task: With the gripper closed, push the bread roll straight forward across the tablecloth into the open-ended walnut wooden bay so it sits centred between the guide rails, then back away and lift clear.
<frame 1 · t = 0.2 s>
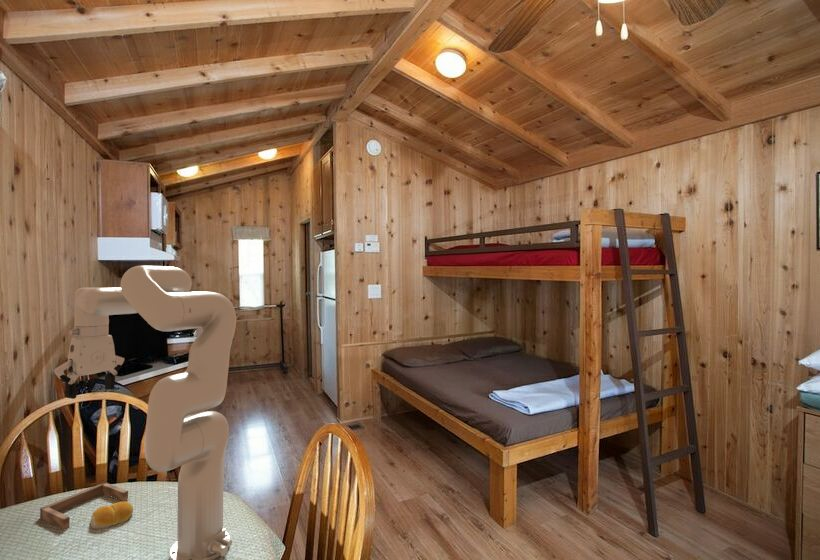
hand: (91, 393, 115), 31 cm above the table, tool pointing down, fingers open, 9 cm apart
bay: (87, 508, 112), on the table
bread roll: (111, 521, 108), on the table
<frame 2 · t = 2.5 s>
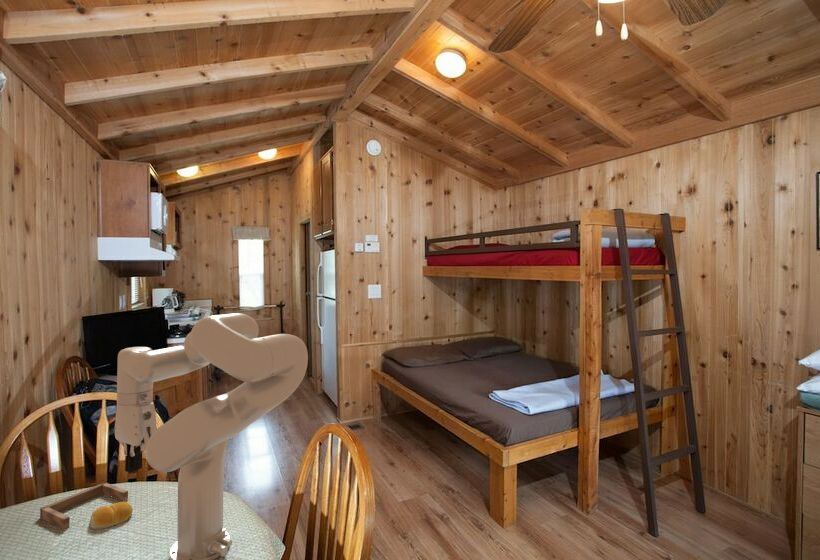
hand: (133, 469, 104), 15 cm above the table, tool pointing down, fingers closed
nothing on the table moved.
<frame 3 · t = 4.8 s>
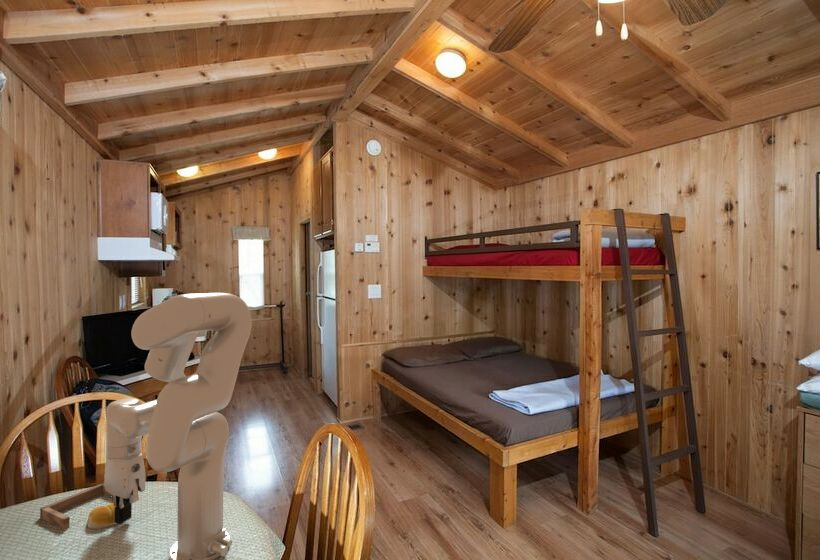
hand: (123, 520, 105), 1 cm above the table, tool pointing down, fingers closed
bread roll: (108, 521, 108), on the table, touching gripper
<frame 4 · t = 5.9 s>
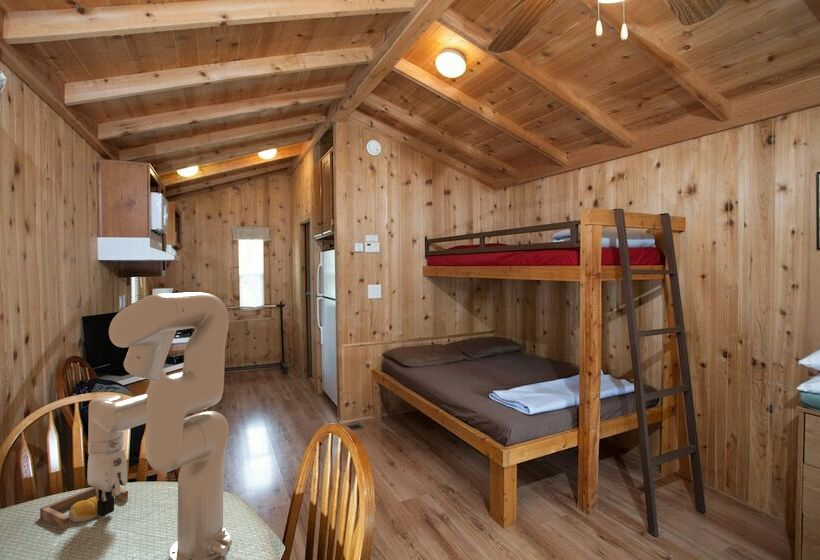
hand: (105, 513, 109), 1 cm above the table, tool pointing down, fingers closed
bread roll: (89, 514, 110), on the table
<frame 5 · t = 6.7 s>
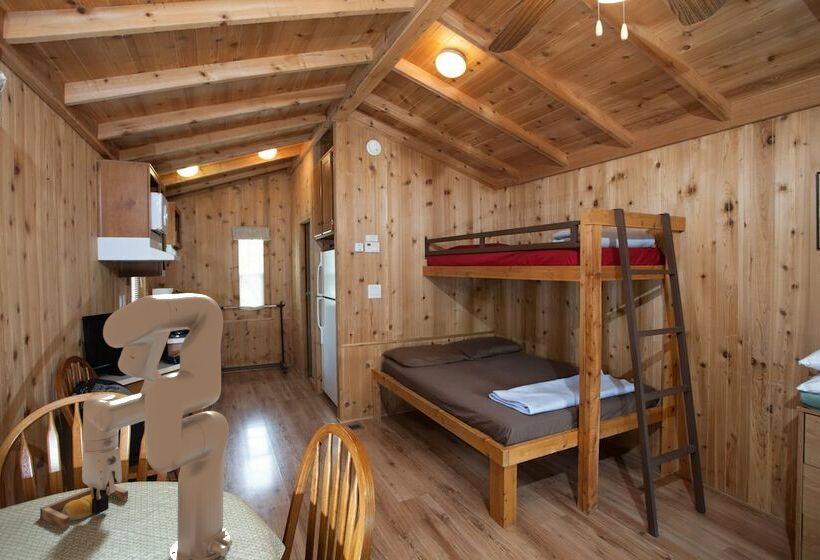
hand: (100, 511, 110), 1 cm above the table, tool pointing down, fingers closed
bread roll: (83, 513, 111), on the table
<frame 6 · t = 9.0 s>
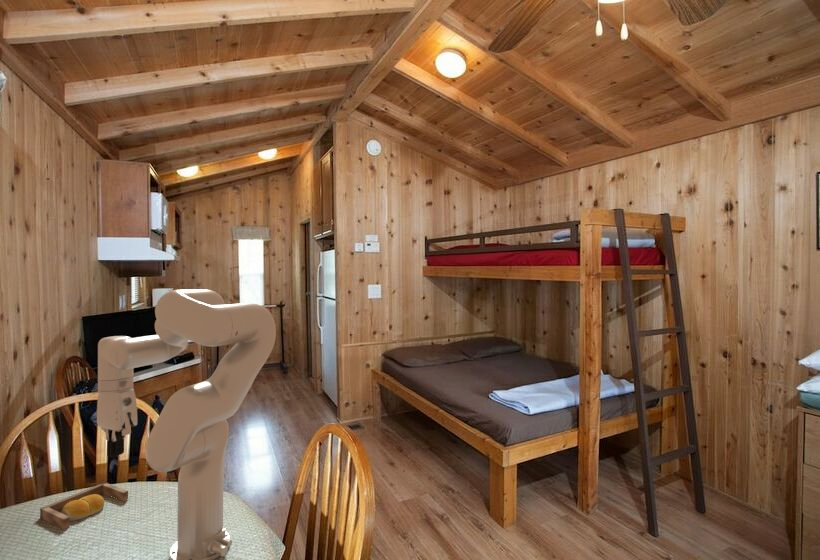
hand: (115, 454, 107), 17 cm above the table, tool pointing down, fingers closed
nothing on the table moved.
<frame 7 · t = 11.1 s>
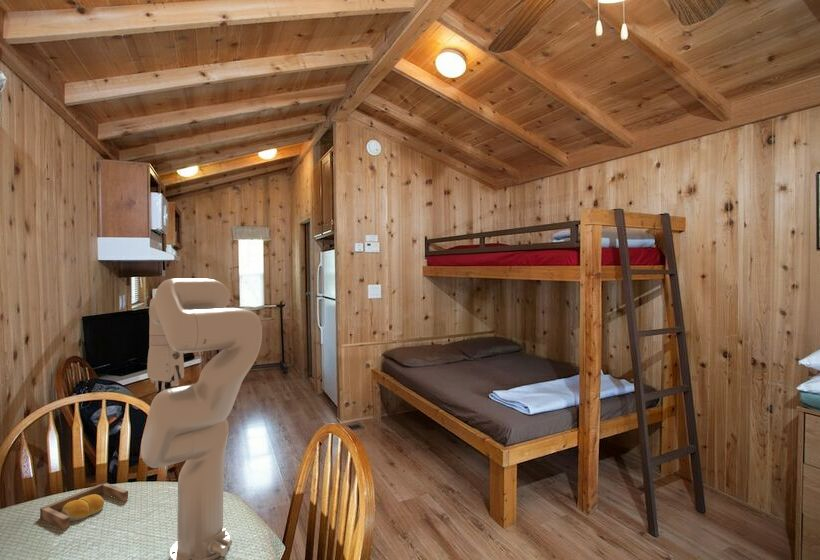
hand: (164, 404, 117), 27 cm above the table, tool pointing down, fingers closed
nothing on the table moved.
at the end: bread roll 1.5 cm off-centre on the bay, point 0.0 cm above the bay's base; bread roll moved 10.5 cm from its start; bread roll tilted 0° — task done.
